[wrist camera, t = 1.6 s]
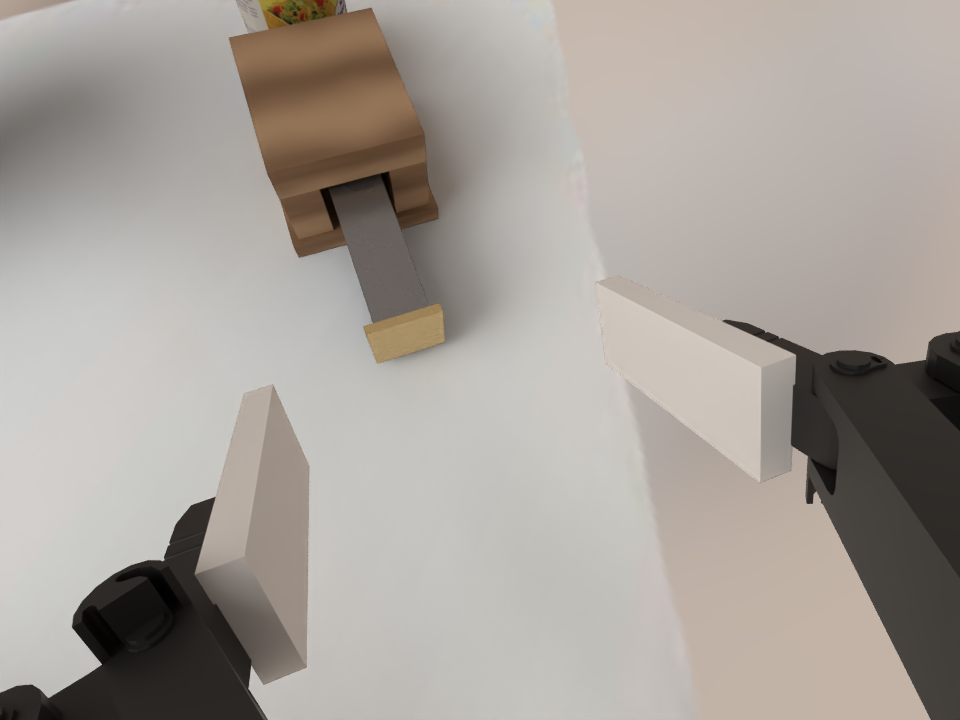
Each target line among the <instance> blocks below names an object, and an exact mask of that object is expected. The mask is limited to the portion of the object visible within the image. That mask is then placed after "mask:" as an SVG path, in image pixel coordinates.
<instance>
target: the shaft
mask: <svg viewBox="0 0 960 720" xmlns="http://www.w3.org/2000/svg"><path fill="white" fill-rule="evenodd" d="M328 188H329V191H330V194H331V197H332V200H333V203H334V206H335V209H336V212H337V215H338V218H339V221H340V224H341V227H342V231H343V234H344V237H345V240H346V243H347V246H348V249H349V252H350V255H351V258H352V261H353V264H354V267H355V270H356V273H357V276H358V279H359V282H360V285H361V288H362V291H363V294H364V297H365V300H366V303H367V306H368V310H369V313H370V316H371V319H372V322H373V324H370V325H366V326H363V327H364V330H365V333H366V336H367V339H368V341H369V344H370V347H371V349H372V352H373V355H374V357H375V360H376V362H377V364H378V363H381V362H384V361H387V360H391V359H394V358H397V357H400V356H403V355H406V354H409V353H412V352H416V351H419V350H422V349H425V348H428V347H431V346H434V345H437V344H440V343H444V322H443V310H442V307H441V305H440V303H438V304H435V305H431V306H429V304H428V301H427V299H426V296H425V293H424V290H423V288H422V285H421V282H420V280H419V277H418V274H417V272H416V269H415V266H414V264H413V261H412V258H411V256H410V253H409V250H408V248H407V245H406V242H405V240H404V237H403V234H402V231H401V229H400V226H399V223H398V221H397V218H396V215H395V213H394V210H393V207H392V205H391V202H390V199H389V197H388V194H387V191H386V189H385V186H384V183H383V181H382V178H381V175H380V174H376V175H372V176H368V177H364V178H361V179H357V180H353V181H349V182H345V183H341V184H338V185H334V186H330V187H328Z"/></svg>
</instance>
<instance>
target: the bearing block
mask: <svg viewBox="0 0 960 720" xmlns="http://www.w3.org/2000/svg"><path fill="white" fill-rule="evenodd" d="M229 41H230V44H231V48H232V51H233V55H234V58H235V62H236V65H237V69H238V72H239V76H240V79H241V83H242V86H243V90H244V93H245V97H246V100H247V104H248V107H249V111H250V114H251V118H252V121H253V125H254V128H255V132H256V136H257V139H258V143H259V146H260V150H261V153H262V157H263V160H264V164H265V167H266V171H267V174H268V176H269V178H270V180H271V182H272V184H273V186H274V189H275V191H276V193H277V195H278V197H279V199H280V201H281V205H282V208H283V212H284V215H285V219H286V222H287V226H288V229H289V232H290V236H291V239H292V243H293V246H294V249H295V251H296V253H297V255H298V257H303V256H306V255H310V254H314V253H317V252H321V251H324V250H328V249H331V248H335V247H338V246H342V245H346V244H347V243H346V240H345V237H344V234H343V231H342V227H341V224H340V221H339V218H338V215H337V212H336V209H335V206H334V203H333V200H332V197H331V194H330V191H329V188H328V187H330V186H334V185H338V184H341V183H345V182H349V181H353V180H357V179H361V178H364V177H368V176H372V175H376V174H380V175H381V178H382V181H383V183H384V186H385V189H386V191H387V194H388V197H389V199H390V202H391V205H392V207H393V210H394V213H395V215H396V218H397V221H398V223H399V226H400V229H403V228H406V227H410V226H413V225H417V224H420V223H424V222H427V221H431V220H435V219H438V207H437V204H436V202H435V199H434V197H433V195H432V192H431V190H430V187H429V185H428V178H427V164H426V150H425V136H424V132H423V129H422V127H421V125H420V122H419V120H418V117H417V115H416V113H415V110H414V108H413V106H412V103H411V101H410V98H409V96H408V94H407V91H406V89H405V87H404V84H403V82H402V79H401V77H400V75H399V72H398V70H397V68H396V65H395V63H394V60H393V58H392V56H391V53H390V51H389V49H388V46H387V44H386V41H385V39H384V37H383V34H382V32H381V30H380V27H379V25H378V22H377V20H376V18H375V15H374V13H373V11H372V8H368V9H364V10H359V11H354V12H349V13H345V14H340V15H335V16H330V17H326V18H321V19H316V20H311V21H306V22H302V23H297V24H292V25H287V26H283V27H278V28H273V29H268V30H263V31H259V32H254V33H249V34H244V35H240V36H235V37H230V38H229Z"/></svg>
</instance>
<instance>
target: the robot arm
mask: <svg viewBox="0 0 960 720" xmlns="http://www.w3.org/2000/svg"><path fill="white" fill-rule="evenodd" d="M595 284H596V291H597V299H598V307H599V314H600V322H601V329H602V337H603V345H604V352H605V360H606V364H607V365H608V366H609V367H611V368H612V369H613V370H615V371H616V372H617V373H618V374H620V375H621V376H622V377H624V378H625V379H626V380H628V381H629V382H630V383H631V384H633V385H634V386H635V387H637V388H638V389H639V390H640V391H642V392H643V393H644V394H646V395H647V396H648V397H650V398H651V399H652V400H653V401H655V402H656V403H657V404H659V405H660V406H661V407H662V408H664V409H665V410H666V411H668V412H669V413H670V414H671V415H673V416H674V417H675V418H677V419H678V420H679V421H680V422H682V423H683V424H684V425H686V426H687V427H688V428H690V429H691V430H692V431H693V432H695V433H696V434H697V435H699V436H700V437H701V438H702V439H704V440H705V441H706V442H708V443H709V444H710V445H711V446H713V447H714V448H716V449H717V450H718V451H719V452H721V453H722V454H723V455H724V456H726V457H727V458H728V459H730V460H731V461H732V462H733V463H735V464H736V465H737V466H739V467H740V468H741V469H743V470H744V471H745V472H746V473H748V474H749V475H750V476H752V477H753V478H754V479H755V480H757V481H758V482H759V483H762V482H765V481H767V480H769V479H772V478H774V477H777V476H779V475H782V474H784V473H787V472H789V471H791V467H792V446H793V447H795V448H796V449H798V450H799V451H801V452H802V453H804V454H806V455H807V456H808V463H807V480H806V502H807V504H813V494H814V493H815V492H816V491H817V493H818V495H819V497H820V499H821V503H823V505H824V507H825V509H826V511H827V513H828V515H829V517H830V519H831V521H832V523H833V525H834V527H835V529H836V531H837V533H838V535H839V537H840V539H841V541H842V543H843V545H844V547H845V549H846V551H847V553H848V555H849V557H850V559H851V561H852V563H853V565H854V567H855V569H856V571H857V573H858V575H859V577H860V579H861V581H862V583H863V585H864V587H865V589H866V591H867V593H868V595H869V597H870V599H871V601H872V603H873V605H874V607H875V609H876V611H877V613H878V615H879V617H880V619H881V621H882V623H883V625H884V627H885V629H886V631H887V633H888V635H889V637H890V639H891V641H892V643H893V645H894V647H895V649H896V651H897V653H898V655H899V657H900V659H901V661H902V663H903V665H904V667H905V669H906V671H907V673H908V675H909V677H910V679H911V681H912V683H913V685H914V687H915V689H916V691H917V693H918V695H919V697H920V699H921V701H922V703H923V705H924V707H925V709H926V711H927V713H928V715H929V717H930V719H931V720H960V331H959V332H954V333H945V334H942V335H940V336H936V337H934V338H933V339H932V340H931V341H930V342H929V345H928V351H927V357H926V360H923V361H916V362H910V363H903V364H896V365H895V364H894V363H892V362H891V361H889V360H888V359H886V358H885V357H883V356H880V355H876V354H873V353H870V352H862V351H856V350H853V351H836V352H830V353H826V354H824V355H820V354H818V353H816V352H813V351H811V350H809V349H806V348H804V347H802V346H799V345H797V344H795V343H792V342H790V341H788V340H785V339H783V338H780V339H779V337H778V336H776V335H774V334H771V333H769V332H767V333H765V331H764V330H762V329H760V328H757V327H755V326H753V325H750V324H748V323H743V322H736V321H731V320H723V321H719V320H718V319H715V318H713V317H711V316H709V315H706V314H704V313H702V312H700V311H698V310H695V309H693V308H691V307H689V306H686V305H684V304H682V303H680V302H677V301H675V300H673V299H671V298H669V297H666V296H664V295H662V294H660V293H657V292H655V291H653V290H651V289H649V288H646V287H644V286H642V285H640V284H637V283H635V282H633V281H631V280H629V279H626V278H624V277H622V276H620V275H617V276H613V277H610V278H607V279H604V280H601V281H598V282H595ZM308 524H309V464H308V462H307V460H306V458H305V455H304V453H303V451H302V449H301V446H300V444H299V442H298V440H297V437H296V435H295V433H294V431H293V428H292V426H291V424H290V422H289V419H288V417H287V415H286V413H285V410H284V408H283V406H282V404H281V401H280V399H279V397H278V395H277V392H276V390H275V388H274V386H273V384H272V385H269V386H266V387H263V388H260V389H257V390H253V391H250V392H247V393H244V395H243V399H242V403H241V406H240V410H239V414H238V417H237V421H236V425H235V428H234V432H233V436H232V439H231V443H230V447H229V450H228V454H227V458H226V461H225V465H224V469H223V472H222V476H221V480H220V483H219V487H218V491H217V494H216V497H214V498H211V499H208V500H205V501H202V502H200V503H197V504H194V505H191V506H190V508H189V509H188V510H187V511H186V512H185V514H184V515H183V516H182V517H181V519H180V520H179V521H178V522H177V523H176V525H175V528H174V531H173V534H172V536H171V539H170V542H169V543H170V546H168V548H167V550H166V553H165V556H164V559H165V561H163V562H162V561H161V560H147V561H144V562H141V563H137V564H134V565H131V566H129V567H127V568H125V569H123V570H121V571H119V572H117V573H115V574H113V575H112V576H111V577H109V578H108V579H107V580H105V581H104V582H102V583H101V584H100V585H98V586H97V587H96V588H95V589H94V590H93V591H92V592H91V593H90V594H89V595H88V596H87V597H86V598H85V599H84V600H83V601H82V603H81V604H80V606H79V607H78V609H77V611H76V612H75V614H74V616H73V624H72V628H73V629H74V630H75V632H76V633H77V634H78V635H79V637H80V638H81V639H82V640H83V641H84V643H85V644H86V645H87V646H88V648H89V649H90V650H91V651H92V653H93V654H94V655H95V656H96V657H97V659H98V660H99V661H100V662H101V664H102V665H101V666H100V667H98V668H97V669H95V670H94V671H92V672H91V673H89V674H88V675H86V676H84V677H83V678H81V679H79V680H78V681H76V682H74V683H73V684H71V685H70V686H68V687H66V688H65V689H63V690H61V691H60V692H58V693H56V694H55V695H53V696H52V697H50V698H47V697H46V695H45V694H44V693H43V692H42V691H41V690H40V689H38V688H37V687H35V686H33V685H22V686H16V687H13V688H11V689H8V690H6V691H4V692H1V693H0V720H268V719H267V718H266V716H265V714H264V713H263V711H262V709H261V708H260V706H259V705H258V703H257V701H256V700H255V698H254V697H253V695H252V694H251V692H250V691H249V689H248V687H249V679H250V670H251V665H252V667H253V669H254V670H255V672H256V673H257V675H258V677H259V678H260V680H261V681H262V683H263V685H264V684H267V683H269V682H272V681H274V680H277V679H279V678H282V677H284V676H287V675H289V674H291V673H294V672H296V671H299V670H301V669H304V668H306V667H307V595H308Z"/></svg>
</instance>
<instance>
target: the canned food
mask: <svg viewBox="0 0 960 720" xmlns="http://www.w3.org/2000/svg"><path fill="white" fill-rule="evenodd" d="M236 2H237V5H238V7H239V10H240V12H241V15H242V17H243V20H244V23H245V25H246V28H247V30H248V33H254V32H259V31H263V30H268V29H273V28H278V27H283V26H287V25H292V24H297V23H302V22H306V21H311V20H316V19H321V18H326V17H330V16H335V15H340V14H345V13H347V10H346V4H345V0H236Z"/></svg>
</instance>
